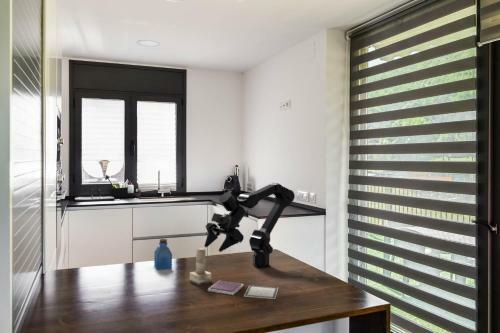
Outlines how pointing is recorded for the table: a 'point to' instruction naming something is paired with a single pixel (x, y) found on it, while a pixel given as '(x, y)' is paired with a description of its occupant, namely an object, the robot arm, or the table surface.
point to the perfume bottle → (163, 256)
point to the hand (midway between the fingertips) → (212, 248)
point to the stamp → (200, 269)
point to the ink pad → (226, 287)
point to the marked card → (261, 292)
